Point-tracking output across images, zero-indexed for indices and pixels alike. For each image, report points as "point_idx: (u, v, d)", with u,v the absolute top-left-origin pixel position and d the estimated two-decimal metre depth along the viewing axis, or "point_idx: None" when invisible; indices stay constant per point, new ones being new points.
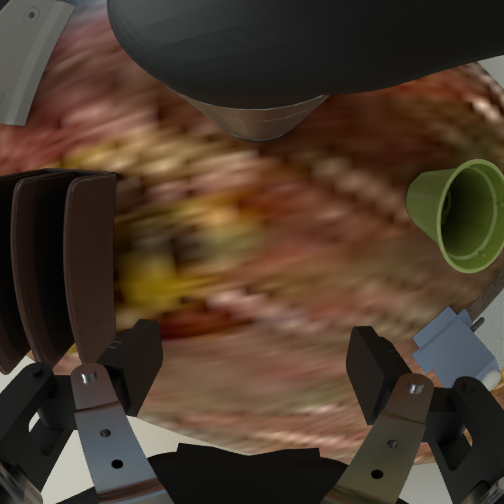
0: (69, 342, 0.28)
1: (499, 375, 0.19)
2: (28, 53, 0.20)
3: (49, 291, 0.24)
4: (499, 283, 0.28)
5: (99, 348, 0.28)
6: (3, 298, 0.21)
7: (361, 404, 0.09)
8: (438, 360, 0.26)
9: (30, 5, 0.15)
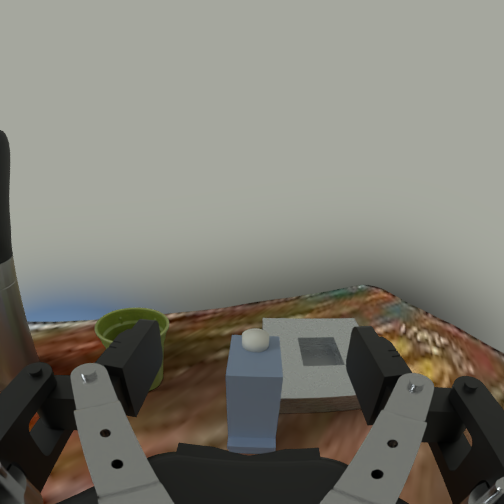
0: None
1: (252, 329, 0.26)
2: None
3: None
4: None
5: None
6: None
7: (361, 404, 0.09)
8: None
9: None
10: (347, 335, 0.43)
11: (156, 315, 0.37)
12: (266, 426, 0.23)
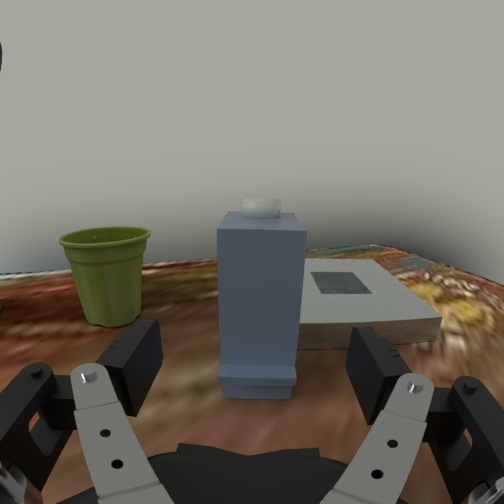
0: None
1: (256, 198, 0.19)
2: None
3: None
4: None
5: None
6: None
7: (361, 404, 0.09)
8: None
9: None
10: (369, 271, 0.36)
11: (137, 232, 0.30)
12: (281, 340, 0.16)
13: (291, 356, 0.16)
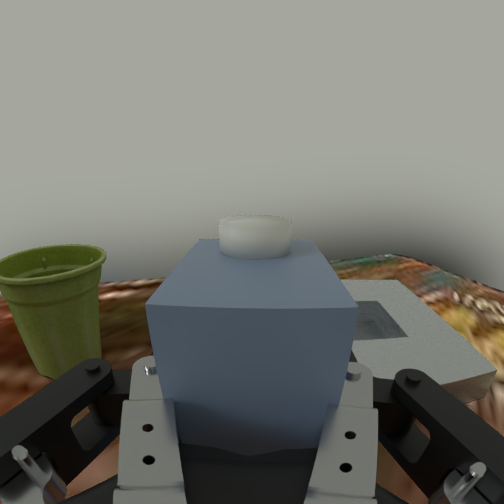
0: None
1: (245, 215, 0.11)
2: None
3: None
4: None
5: None
6: None
7: None
8: None
9: None
10: (396, 298, 0.28)
11: (93, 254, 0.21)
12: None
13: None
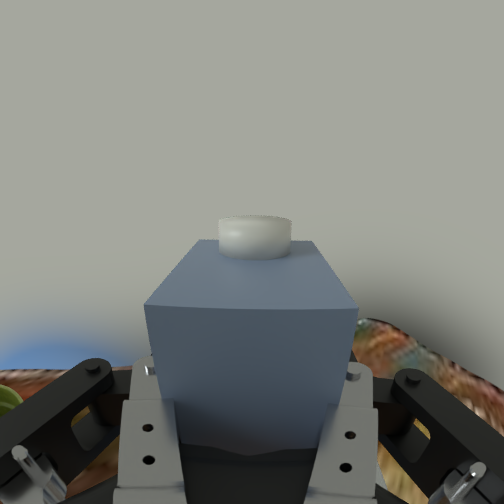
0: None
1: (245, 216, 0.11)
2: None
3: None
4: None
5: None
6: None
7: None
8: None
9: None
10: None
11: None
12: None
13: None
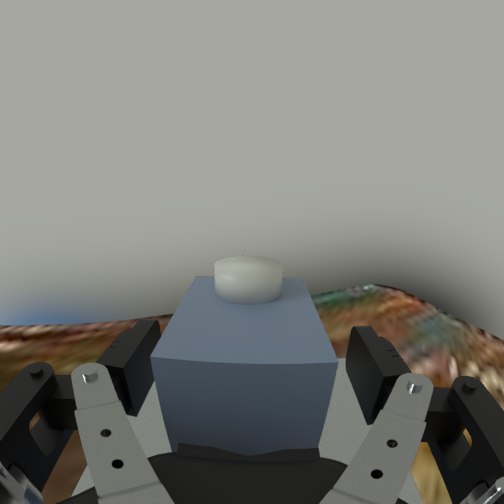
0: None
1: (239, 256, 0.11)
2: None
3: None
4: None
5: None
6: None
7: (360, 404, 0.09)
8: None
9: None
10: (340, 410, 0.15)
11: None
12: None
13: None
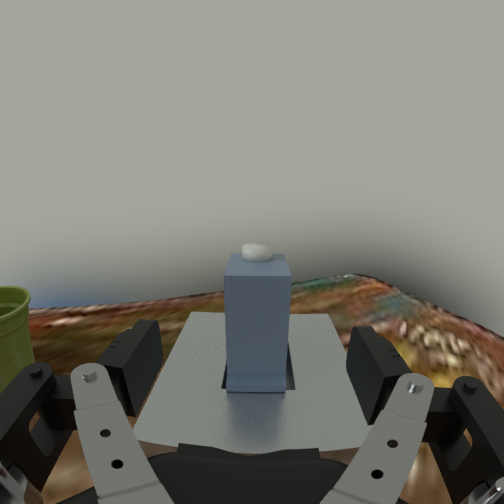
0: None
1: (253, 243, 0.24)
2: None
3: None
4: None
5: None
6: None
7: (361, 404, 0.09)
8: None
9: None
10: (312, 338, 0.28)
11: (25, 296, 0.22)
12: (273, 356, 0.21)
13: (282, 369, 0.21)
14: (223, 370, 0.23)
